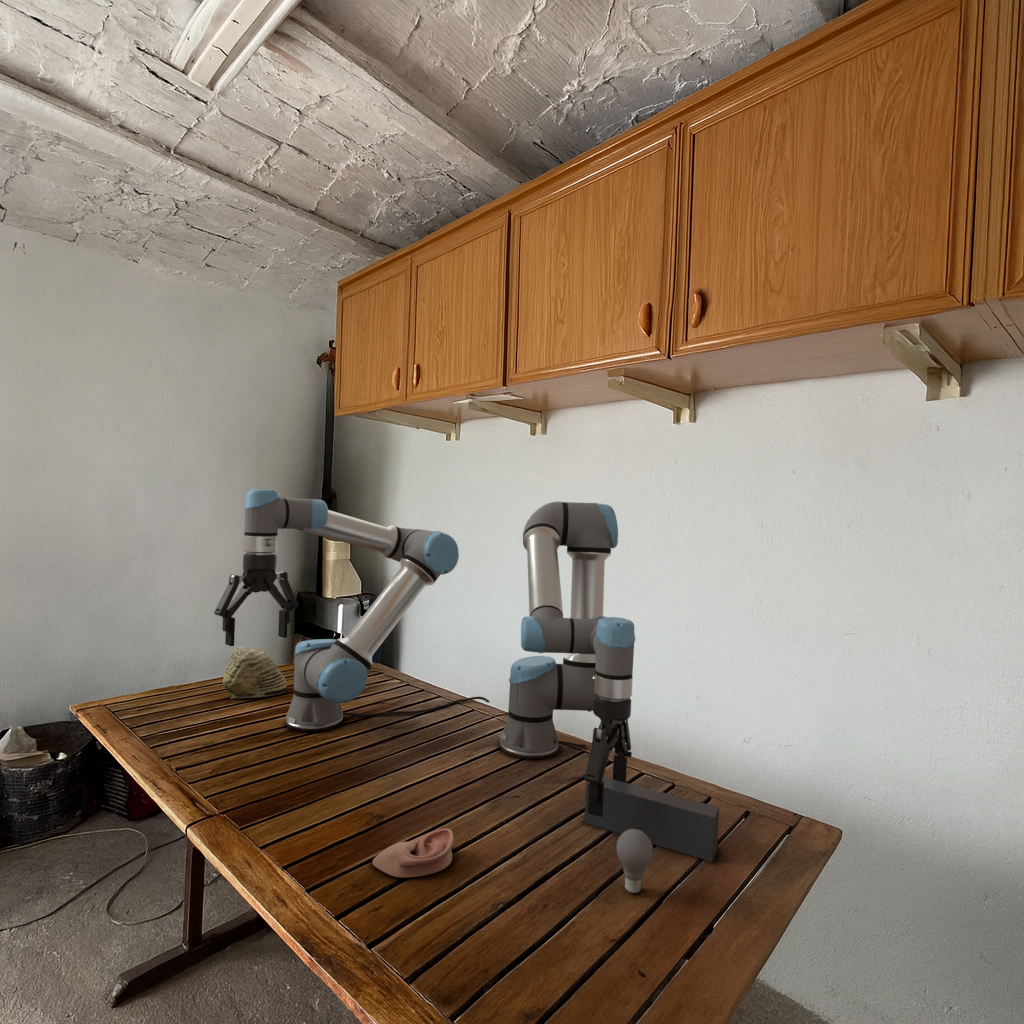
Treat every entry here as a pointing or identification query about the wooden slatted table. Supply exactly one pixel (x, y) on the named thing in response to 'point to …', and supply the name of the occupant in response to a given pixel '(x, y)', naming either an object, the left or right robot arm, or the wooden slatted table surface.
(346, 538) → the left robot arm
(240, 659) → the fossil
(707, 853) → the bar
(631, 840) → the light bulb
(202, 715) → the wooden slatted table surface
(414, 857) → the anatomical model
